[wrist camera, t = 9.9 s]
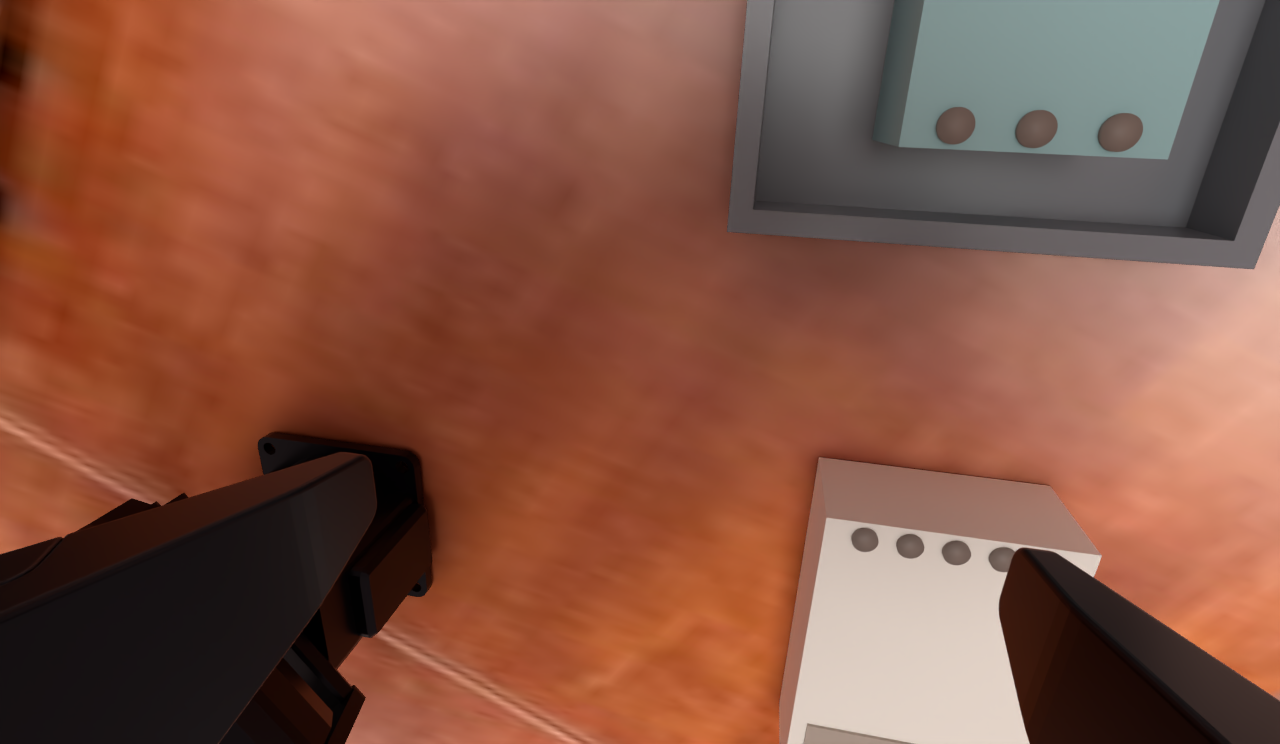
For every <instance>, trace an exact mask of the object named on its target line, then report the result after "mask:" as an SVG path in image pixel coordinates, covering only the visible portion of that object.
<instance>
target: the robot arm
mask: <svg viewBox="0 0 1280 744" xmlns="http://www.w3.org/2000/svg"><path fill="white" fill-rule="evenodd" d="M272 445H273V446H274V447H275V448H274V447H273V446H272ZM258 450H259V455H260V459H261V464H262V469H263V474H264V475H262V476H259V477H256V478H252V479H249V480H246V481H243V482H239V483H236V484H233V485H229V486H226V487H223V488H219V489H216V490H213V491H210V492H206V493H203V494H200V495H196V496H193V497H190V498H188V496H187V495H186V494H185V493H183V494H181V495H179V496H178V497H176V498H175V499H173V500H171V501H170V502H168V503H167V504H165V505H163V506H161V505H160V504H159V503H158V502H157V501H156V502H155V503H153V504H148V503H145V502H142V501H138V500H135V499H130V500H129V501H127V502H125V503H124V504H122V505H120V506H118V507H117V508H115V509H113V510H112V511H110V512H108V513H107V514H105V515H103V516H102V517H100V518H98V519H97V520H95V521H93V522H92V523H90V524H88V525H86V526H85V527H83V528H81V529H79V530H78V531H76V532H74V533H71V534H68V535H66V536H65V537H64V538H62V537H57V538H54V539H51V540H47V541H44V542H41V543H37V544H34V545H31V546H27V547H24V548H21V549H17V550H14V551H10V552H7V553H4V554H0V744H345V742H346V740H347V738H348V736H349V734H350V731H351V729H352V727H353V725H354V723H355V720H356V718H357V716H358V714H359V712H360V709H361V707H362V705H363V703H364V701H365V698H366V697H365V696H364V695H363V694H362V693H361V692H360V691H359V689H358V688H357V687H356V686H355V685H353V686H351V685H350V684H349V683H348V682H347V681H346V680H345V678H344V677H343V676H342V675H341V674H340V673H339V672H338V671H337V669H338V667H339V666H340V665H341V664H342V662H343V661H344V660H345V659H346V657H347V656H348V655H349V654H350V652H351V651H352V650H353V648H354V647H355V646H356V645H357V643H358V642H359V641H360V640H361V638H362V637H368V638H372V637H373V636H374V635H376V634H377V633H378V632H379V631H380V630H381V629H382V627H383V626H384V625H385V623H386V622H387V621H388V619H389V618H390V617H391V616H392V614H393V613H394V612H395V610H396V609H397V608H398V606H399V605H400V604H401V602H402V601H403V600H404V599H405V597H406V596H407V595H410V596H415V597H421V596H424V595H425V594H426V592H427V591H428V590H429V588H430V587H431V585H432V579H431V569H430V565H431V563H432V553H431V544H430V534H429V524H428V514H427V510H426V508H425V506H424V501H423V491H422V481H421V471H420V463H419V460H418V458H417V457H416V455H414V454H413V453H412V452H410V451H406V450H400V449H392V448H385V447H378V446H370V445H363V444H356V443H348V442H341V441H334V440H326V439H319V438H312V437H304V436H297V435H290V434H282V433H275V432H274V433H269V434H268V435H266V436H264V437H263V438H261V439H260V440H259V442H258ZM401 461H402V462H404V463H405V464H406V465H407V466H408V468H406V467H404V466H403V465H402V463H401ZM417 583H419V584H420V585H419V584H417ZM999 618H1000V623H1001V627H1002V632H1003V636H1004V641H1005V645H1006V649H1007V654H1008V658H1009V663H1010V667H1011V671H1012V676H1013V680H1014V685H1015V689H1016V693H1017V698H1018V702H1019V707H1020V711H1021V715H1022V719H1023V723H1024V727H1025V731H1026V734H1027V737H1028V740H1029V743H1030V744H1280V701H1279V700H1278V699H1276V698H1275V697H1273V696H1272V695H1270V694H1269V693H1267V692H1266V691H1264V690H1263V689H1261V688H1260V687H1258V686H1257V685H1255V684H1254V683H1252V682H1251V681H1249V680H1247V679H1246V678H1244V677H1243V676H1241V675H1240V674H1238V673H1237V672H1235V671H1234V670H1232V669H1231V668H1229V667H1228V666H1226V665H1225V664H1223V663H1222V662H1220V661H1219V660H1217V659H1216V658H1214V657H1213V656H1211V655H1210V654H1208V653H1207V652H1205V651H1204V650H1202V649H1201V648H1199V647H1198V646H1196V645H1195V644H1193V643H1192V642H1190V641H1189V640H1187V639H1186V638H1184V637H1183V636H1181V635H1180V634H1178V633H1177V632H1175V631H1174V630H1172V629H1171V628H1169V627H1168V626H1166V625H1165V624H1163V623H1162V622H1160V621H1158V620H1157V619H1155V618H1154V617H1152V616H1151V615H1149V614H1148V613H1146V612H1145V611H1143V610H1142V609H1140V608H1139V607H1137V606H1136V605H1134V604H1133V603H1131V602H1130V601H1128V600H1127V599H1125V598H1124V597H1122V596H1121V595H1119V594H1118V593H1116V592H1115V591H1113V590H1112V589H1110V588H1109V587H1107V586H1106V585H1104V584H1103V583H1101V582H1100V581H1098V580H1097V579H1095V578H1094V577H1092V576H1091V575H1089V574H1088V573H1086V572H1085V571H1083V570H1082V569H1080V568H1079V567H1077V566H1076V565H1074V564H1073V563H1071V562H1070V561H1068V560H1066V559H1065V558H1063V557H1062V556H1060V555H1059V554H1057V553H1056V552H1053V551H1048V550H1041V549H1034V548H1026V547H1021V548H1019V549H1018V550H1016V552H1015V553H1014V555H1013V557H1012V559H1011V563H1010V566H1009V569H1008V572H1007V576H1006V579H1005V582H1004V585H1003V588H1002V592H1001V595H1000V599H999Z"/></svg>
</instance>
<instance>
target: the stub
mask: <svg viewBox="0 0 1280 744" xmlns="http://www.w3.org/2000/svg"><path fill="white" fill-rule="evenodd" d="M1219 1H1220V0H895V2H894V8H893V14H892V20H891V26H890V33H889V39H888V45H887V51H886V57H885V63H884V70H883V76H882V82H881V88H880V94H879V101H878V107H877V113H876V119H875V125H874V131H873V138H872V140H874V141H878V142H882V143H886V144H889V145H893V146H897V147H911V148H932V149H953V150H975V151H996V152H1017V153H1039V154H1060V155H1081V156H1102V157H1124V158H1145V159H1166V160H1168V157H1169V154H1170V151H1171V148H1172V145H1173V142H1174V139H1175V136H1176V133H1177V130H1178V127H1179V124H1180V120H1181V117H1182V114H1183V111H1184V108H1185V105H1186V102H1187V99H1188V96H1189V93H1190V90H1191V87H1192V84H1193V81H1194V78H1195V75H1196V71H1197V68H1198V65H1199V62H1200V59H1201V56H1202V53H1203V50H1204V47H1205V44H1206V41H1207V38H1208V35H1209V32H1210V29H1211V25H1212V22H1213V19H1214V16H1215V13H1216V10H1217V7H1218V4H1219Z"/></svg>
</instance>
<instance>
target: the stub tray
mask: <svg viewBox="0 0 1280 744" xmlns="http://www.w3.org/2000/svg"><path fill="white" fill-rule="evenodd" d="M894 2H895V0H747V10H746V21H745V32H744V44H743V55H742V66H741V78H740V89H739V101H738V112H737V123H736V135H735V146H734V158H733V169H732V180H731V192H730V203H729V215H728V226H727V232H736V233H750V234H764V235H778V236H792V237H806V238H820V239H835V240H849V241H863V242H877V243H891V244H905V245H919V246H933V247H947V248H961V249H975V250H989V251H1003V252H1018V253H1032V254H1046V255H1060V256H1074V257H1088V258H1102V259H1116V260H1130V261H1144V262H1158V263H1172V264H1186V265H1201V266H1215V267H1229V268H1243V269H1254V268H1255V265H1256V263H1257V260H1258V258H1259V255H1260V253H1261V250H1262V248H1263V245H1264V243H1265V240H1266V238H1267V235H1268V233H1269V230H1270V228H1271V225H1272V223H1273V220H1274V218H1275V215H1276V213H1277V210H1278V208H1279V205H1280V0H1220V1H1219V4H1218V7H1217V10H1216V13H1215V16H1214V19H1213V22H1212V25H1211V29H1210V32H1209V35H1208V38H1207V41H1206V44H1205V47H1204V50H1203V53H1202V56H1201V59H1200V62H1199V65H1198V68H1197V71H1196V75H1195V78H1194V81H1193V84H1192V87H1191V90H1190V93H1189V96H1188V99H1187V102H1186V105H1185V108H1184V111H1183V114H1182V117H1181V120H1180V124H1179V127H1178V130H1177V133H1176V136H1175V139H1174V142H1173V145H1172V148H1171V151H1170V154H1169V157H1168V160H1166V159H1145V158H1124V157H1102V156H1081V155H1060V154H1039V153H1017V152H996V151H975V150H953V149H932V148H911V147H897V146H893V145H889V144H886V143H882V142H878V141H874V140H872V138H873V131H874V125H875V119H876V113H877V107H878V101H879V94H880V88H881V82H882V76H883V70H884V63H885V57H886V51H887V45H888V39H889V33H890V26H891V20H892V14H893V8H894Z"/></svg>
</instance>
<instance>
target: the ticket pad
mask: <svg viewBox="0 0 1280 744" xmlns="http://www.w3.org/2000/svg"><path fill="white" fill-rule="evenodd" d="M1021 547H1026V548H1034V549H1041V550H1048V551H1053V552H1056V553H1057V554H1059V555H1060V556H1062V557H1063V558H1065V559H1066V560H1068V561H1070V562H1071V563H1073V564H1074V565H1076V566H1077V567H1079V568H1080V569H1082V570H1083V571H1085V572H1086V573H1088V574H1089V575H1091V576H1092V577H1094V575H1095V573H1096V570H1097V567H1098V565H1099V562H1100V559H1101V557H1102V555H1101V554H1100V553H1099V551H1098V550H1097V549H1096V547H1095V546H1094V545H1093V543H1092V542H1091V540H1090V539H1089V538H1088V536H1087V535H1086V534H1085V532H1084V531H1083V530H1082V528H1081V527H1080V526H1079V524H1078V523H1077V522H1076V520H1075V519H1074V517H1073V516H1072V515H1071V513H1070V512H1069V511H1068V509H1067V508H1066V507H1065V505H1064V504H1063V503H1062V501H1061V500H1060V499H1059V497H1058V496H1057V494H1056V493H1055V492H1054V490H1053V489H1052V488H1051V486H1047V485H1039V484H1031V483H1023V482H1015V481H1007V480H999V479H991V478H983V477H975V476H967V475H959V474H951V473H943V472H935V471H927V470H919V469H911V468H903V467H894V466H886V465H878V464H870V463H862V462H854V461H846V460H838V459H830V458H822V457H819V460H818V466H817V472H816V478H815V485H814V491H813V497H812V503H811V509H810V515H809V522H808V528H807V534H806V540H805V546H804V553H803V559H802V565H801V571H800V577H799V584H798V590H797V596H796V602H795V608H794V615H793V621H792V627H791V633H790V639H789V646H788V652H787V658H786V664H785V670H784V677H783V683H782V689H781V695H780V701H779V744H1030V743H1029V740H1028V737H1027V734H1026V731H1025V727H1024V723H1023V719H1022V715H1021V711H1020V707H1019V702H1018V698H1017V693H1016V689H1015V685H1014V680H1013V676H1012V671H1011V667H1010V663H1009V658H1008V654H1007V649H1006V645H1005V641H1004V636H1003V632H1002V627H1001V623H1000V618H999V599H1000V595H1001V592H1002V588H1003V585H1004V582H1005V579H1006V576H1007V572H1008V569H1009V566H1010V563H1011V559H1012V557H1013V555H1014V553H1015V552H1016V550H1018V549H1019V548H1021Z"/></svg>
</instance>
